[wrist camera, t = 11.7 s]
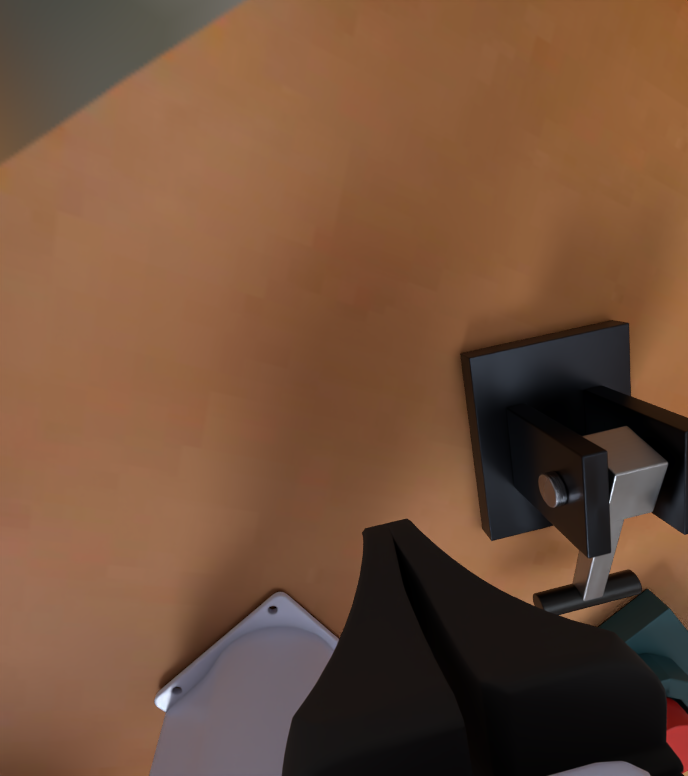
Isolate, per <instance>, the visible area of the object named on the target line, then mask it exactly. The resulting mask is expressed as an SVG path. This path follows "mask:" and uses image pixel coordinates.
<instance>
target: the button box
mask: <svg viewBox="0 0 688 776" xmlns="http://www.w3.org/2000/svg"><path fill="white" fill-rule="evenodd" d="M598 628H602V629H605V630H609V631H612V632H615V633H616V634H617V635H618V636H619V637H620V638H621V639H622V640H623V641H624V642H625V643H626V644H627V645H628V646H629V647H631V648H632V649H633V650H634V651H635V652H636V653H637V654H638V655H639V656H640V657H641V658H642V659H643V661H644V662H645V663H646V664H647V665H648V666H649V667H650V669H651V670H652V671H653V672H654V673H655V674H656V675H657V676H658V678H659V680H660V681H661V683H662V685H663V687H664V688H665V693H666V697H668V698H671V699H673V700H675V701H676V702H677V703H678V704H679V705H680V706H681V707H682V708H683V710H684V711H685V712H686V713H687V714H688V631H687V630H686V628H685V627H684V626H683V624H682V623H681V622H680V621H679V619H678V618H677V617H676V616H675V614H674V613H673V612H672V611H671V609H670V608H669V607H668V606H667V605H665V604H664V603H663V602H662V601H661V600H660V599H659V598H658V597H656V596H655V595H654V594H653V593H652V592H651V591H650V590H649V589H647V590H645V591H644V592H643V593H641V594H640V595H639V596H638V597H636V598H635V599H634V600H632V601H631V602H630V603H629V604H627V605H626V606H625V607H623V608H622V609H621V610H620V611H618V612H617V613H616V614H614V615H613V616H612V617H611V618H609V619H608V620H607V621H605V622H604V623H603V624H602V625H600V626H599V627H598Z"/></svg>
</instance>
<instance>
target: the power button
mask: <svg viewBox="0 0 688 776" xmlns="http://www.w3.org/2000/svg"><path fill="white" fill-rule="evenodd" d="M666 699H667V737H666V742H667V743H668V744H669V746H670V747H671V748H672V750H673V751H674V752H675V753H676V755H677V756H678V757H679V758H680V760H681V762H682V764H683V766H684V772H686V771H688V714H687V713H686V712H685V711H684V710H683V708H682V707H681V706H680V705H679V704H678V703H677V702H676V701H675V700H673V699H671V698H668V697H666ZM684 772H681V773H684Z"/></svg>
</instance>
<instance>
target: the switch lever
mask: <svg viewBox="0 0 688 776" xmlns="http://www.w3.org/2000/svg"><path fill="white" fill-rule="evenodd" d="M582 437H584V438H586V439H588V440H589V441H591V442H593V443H595V444H596V445H598V446H600V447H602V448H603V449H605V450H607V453H608V478H609V503H610V527H611V553H610V554H606V555H602V556H598V557H594V558H590V559H588V558H587V557H586V556H585V555H584V554H583V553H582V552H581V551H580V550H579V554H578V559H577V564H576V569H575V574H574V578H573V583H572V584H569V585H566V586H562V587H558V588H554V589H550V590H546V591H542V592H538V593H535V594H533V602H534V605H535V607H538V608H540V609H543V610H545V611H548V612H551V613H553V614H556V615H561V614H565V613H568V612H572V611H576V610H580V609H584V608H588V607H591V606H595V605H599V604H603V603H607V602H611V601H614V600H618V599H622V598H626V597H630V596H634V595H637V594H640V593H641V591H642V587H641V583H640V581H639V579H638V577H637V576H636V574H635V573H634V572H632V571H631V570H624V571H620V572H616V573H612V574H609V572H610V569H611V565H612V561H613V558H614V554H615V551H616V547H617V543H618V540H619V536H620V532H621V529H622V525H623V522H624V519H626V518H630V517H634V516H638V515H642V514H646V513H650V512H652V511H653V510H654V507H655V504H656V501H657V498H658V495H659V492H660V488H661V485H662V482H663V479H664V476H665V473H666V470H667V467H668V461H667V460H666V459H664V458H663V457H662V456H661V455H660V454H659V453H658V452H656V451H655V450H654V449H653V448H652V447H651V446H650V445H648V444H647V443H646V442H645V441H644V440H643V439H642V438H640V437H639V436H638V435H637V434H636V433H635V432H634V431H632V430H631V429H630V428H629V427H628V426H623V427H619V428H614V429H610V430H606V431H602V432H597V433H593V434H589V435H585V436H582Z"/></svg>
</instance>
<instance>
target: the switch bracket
mask: <svg viewBox="0 0 688 776" xmlns="http://www.w3.org/2000/svg"><path fill="white" fill-rule="evenodd" d="M460 355H461V363H462V371H463V379H464V387H465V395H466V403H467V411H468V419H469V426H470V434H471V442H472V450H473V458H474V466H475V474H476V482H477V490H478V497H479V505H480V513H481V521H482V529H483V530H484V531H485V533H486V534H487V536H488V537H489V538H490V540H491V541H493V540H497V539H501V538H505V537H509V536H513V535H518V534H522V533H526V532H530V531H534V530H538V529H542V528H546V527H550V526H555V527H556V528H557V529H558V530H559V531H560V532H561V533H562V534H563V535H564V536H565V537H566V538H567V539H568V540H569V541H570V542H571V543H572V544H573V545H574V546H575V547H576V548H578V549H579V550H580V551H581V552H582V553H583V554H584V555H585V556H586V557H587V558H588V559H590V558H594V557H598V556H602V555H606V554H610V553H611V527H610V503H609V478H608V453H607V450H605V449H603V448H602V447H600V446H598V445H596V444H595V443H593V442H591V441H589V440H588V439H586V438H584V437H582V436H585V435H589V434H593V433H597V432H602V431H606V430H610V429H614V428H619V427H623V426H628V427H629V428H630V429H631V430H632V431H634V432H635V433H636V434H637V435H638V436H639V437H640V438H642V439H643V440H644V441H645V442H646V443H647V444H648V445H650V446H651V447H652V448H653V449H654V450H655V451H656V452H658V453H659V454H660V455H661V456H662V457H663V458H664V459H666V460H667V461H668V467H667V470H666V473H665V476H664V479H663V482H662V485H661V488H660V492H659V495H658V498H657V501H656V504H655V507H654V510H653V511H652V513H653V514H654V515H656V516H657V517H659V518H660V519H662V520H663V521H665V522H666V523H668V524H669V525H671V526H672V527H674V528H675V529H677V530H678V531H680V532H681V533H683V534H684V535H686V534H688V418H687V417H684V416H681V415H679V414H676V413H674V412H671V411H668V410H666V409H663V408H660V407H658V406H655V405H652V404H650V403H647V402H645V401H642V400H639V399H637V398H634V397H631V385H630V344H629V323H625V322H619V321H613V320H612V321H607V322H602V323H598V324H593V325H589V326H584V327H580V328H575V329H570V330H566V331H561V332H557V333H552V334H548V335H543V336H538V337H534V338H529V339H525V340H520V341H516V342H511V343H507V344H502V345H497V346H493V347H488V348H484V349H479V350H475V351H470V352H465V353H461V354H460Z"/></svg>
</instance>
